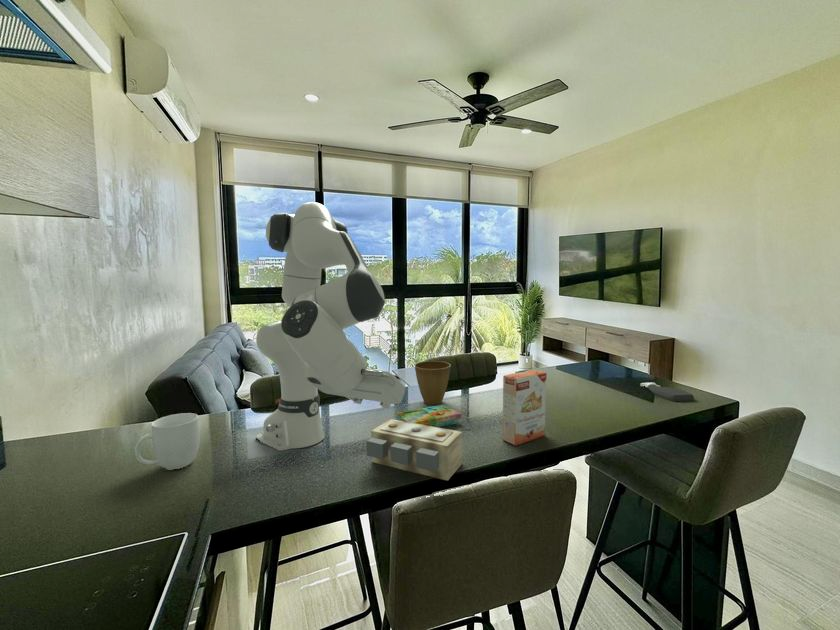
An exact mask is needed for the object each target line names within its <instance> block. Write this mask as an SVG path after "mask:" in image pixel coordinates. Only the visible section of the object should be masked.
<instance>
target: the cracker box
mask: <svg viewBox="0 0 840 630" xmlns="http://www.w3.org/2000/svg"><path fill="white" fill-rule="evenodd" d="M502 379H503V380H502V386H503V387H502V388H503V389H502V439H501V440H502V441H505V442H507V443H509V444H511V445H513V446H515V447H517V446H519V445H522V444H525V443H527V442H530V441H533V440H535V439H536V440H537V439H539V438H542V437H544V436H545V434H546V404H547V403H546V401H547V373H546V372H544V371H540V370H535V369H531V370H525V371H519V372H514V373H509V374H504V375H503V377H502Z"/></svg>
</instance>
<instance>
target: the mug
mask: <svg viewBox="0 0 840 630" xmlns="http://www.w3.org/2000/svg"><path fill="white" fill-rule="evenodd" d="M199 420H200V419H199V415H198V414H197V413H192V412H187V413H185V412H184V413H183V412H181V413H176V414H169V415H166V416H162V417H160V418H157V419H155V420H154V421H152V423H151V425H150V427H151V432H150V433H146V434H144V435H142V436H141V437H140V438H139V439H138V441H137V442H136V443H135V448H134V455H135V457H136V459H137V461H138V462H139V463H141V464H142V465H143V464H144V465H149V466H150V465H160V466H161V467H162V468H163V467H165V468H175V467H181V466H184V465H187V464H189V463H190V462H192V461H193V460H195V458H196V456H197V454H198V451H199V447H200V423H199ZM146 439H147V440H148V439H151V440H152V445H153V451H154V452H153V453H154V454H155V458H156V459H154V460H148V459H145V458H143V456H142V455H141V453H140V447H141V444H142V443H143V442H144V441H145V440H146ZM193 462H194V461H193ZM193 462H192V463H193Z"/></svg>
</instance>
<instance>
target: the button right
mask: <svg viewBox="0 0 840 630" xmlns="http://www.w3.org/2000/svg"><path fill="white" fill-rule="evenodd" d="M416 465H417V468H421V469H425V470H429V471H433V472H435V471H436V470H437V469H438V468H439V452H438V451H433V450H428V449H424V448H420V449H419V450H418V451H417V452H416Z"/></svg>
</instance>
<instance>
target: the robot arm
mask: <svg viewBox="0 0 840 630" xmlns="http://www.w3.org/2000/svg"><path fill="white" fill-rule="evenodd" d="M265 236H266V240H267V242H268V246H269V247H270V248H271V249H272V250H274V251H275V252H276V251H277V252H278V253H286V255H285V258H284V264H283V271H282V272H283V274H282V286H281V289H282V290H281V298H282V300H283V302H284V303H285V304H286V305H287V306H289V307H288V309H286V310H285V312H284V314H283V316H282V318H281V320H276V321H273V322H269V323H266V324H264V325H262V326H261V327H259V330H258V331H257V334H256V336H255V337H256V339H255V343H256V347H257V348H258V350H259V352H260V353H261V354H262V355H264V357H267V358H268V359H270V361H271V362H272V363H273V364H274V365H275V367H276V370H277V371H278V376H279V381H280V382H279V383H280V392H281V393H280V395H281V396H280V398H277V399H275V401H276V402H275V404H277V403H278V404H277V405H278V406H277V409H276V410H274V411H273V412H272V413H271V414H269V415H268V416H267V417H266V418H265V419H264V422H263V427H262V429H263V430H262V431H260V432H259V433H258V434H257V435H256V436H255V439H256V438H257V439H259V440H261V441H262V442H264V443H266V444H267V445H266V444H265V445H266V446H268V445H269V447H270V446H271V448H272V447H273V448H272V449H274V448H275V450H276V449H277V450H276V451H287V450H291V449H301V448H307V447H311V446H313V445H316V444H318V443H320V442H322V440H324V439H325V437H326V436H325V433H324V432H325V431H324V426H323V425H322V424H323V423H322V418H321V413H320V412H321V411H320V406H321V404H320V394H319V393H318V390H319V391H320V392H322V393H325V394H326V395H333V396H339V397H345V398H346V399H349V400H351V401H352V403H354V404H357V405H361V404H362V402H363V400H366V401H373V402H378V403H379V405H380V407H381V408H384V409H390V407H391V404H392V405H400V404H401V403H402V401H403V399H404V396H405V393H406V387H405V385H403V383H402V382H401V381H400V380H399V379H398V378H397V376H396V375H395V374H393V373H392V372H389V371H388V370H384V369H375V368H368V363H367V359H366V358H365V357H364V356H363V355H362V353H361V352H360V351H359V350H358V348H357V347H356V346H355V344H354V343H353V342H352V341H350V340H348V339H347V335H346V333H345V331H344V330H345V329H348V328H350V327H352V326H355V325H357V324H359V323H364V322H366V321H369V320H372V319H375V318H376V319H377V318H378V317H379V315H380V314H381V312H382V310H383V308H384V307H385V303H386V300H385V299H386V298H385V293H384V290H383V287H382V286H381V284H380V282H379V281H378V279H377V278H376V276H375V275H374V274H373V273H371V271H370V269H369V267H368V264H367V263H366V262H365V260H364V258H363V256H362V254H361V253H360V251H359V248H358V247H357V245H356V244H355V242H354V240H353V239H352V238H351V236H350V235H349V233H348V228H347V227H346V225H345V223H343V222H341V221H339V220H336V219H334V218H333V215H332V214H331V212H330V210H329V209H328V208H327V207H326V206H324V205H323V204H322V203H319V202H315V201H314V202H313V201H310V202H305V203H303V204H301V205H299V207H298V208H297V209H296V210H295V212H294V213H291V214H290V213H287V212H280V213H279V212H278V213H273V215H272V216H270V219H269V220H268V222H267V224H266V226H265ZM344 265H345V267H346V269H347V272H346V273H345V274H343V275H341V276H340V277H338V278H336V279H333V280H330V281H329V282H327V283H324V284H322V283H321V282H322V269H328V268H332V267H336V266H344ZM321 284H322V285H321ZM262 442H261V443H262ZM264 443H263V444H264Z"/></svg>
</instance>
